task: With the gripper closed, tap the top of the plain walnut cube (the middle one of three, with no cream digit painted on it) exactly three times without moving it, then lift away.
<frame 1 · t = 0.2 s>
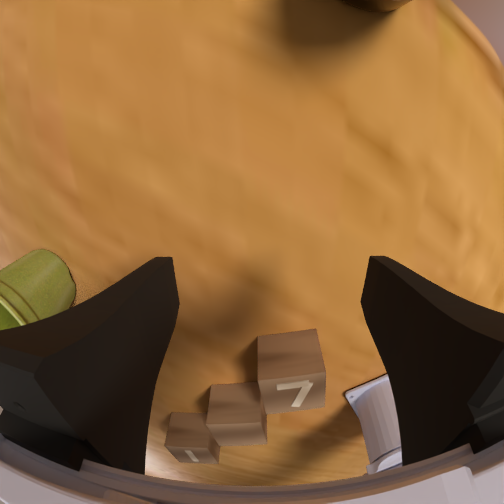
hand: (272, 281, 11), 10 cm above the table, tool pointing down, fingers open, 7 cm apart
plain block: (240, 396, 29), on the table
block seven: (289, 351, 26), on the table
block one: (197, 422, 32), on the table
plant pot: (51, 276, 23), on the table
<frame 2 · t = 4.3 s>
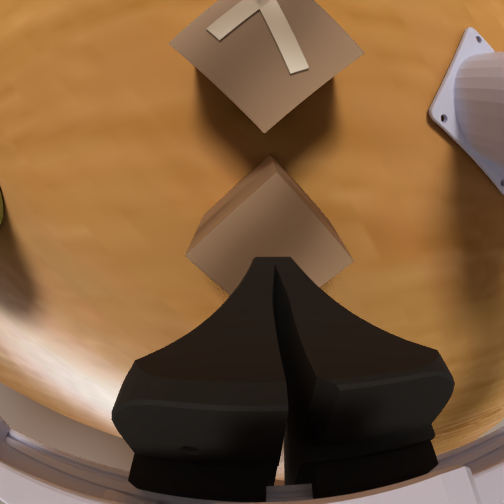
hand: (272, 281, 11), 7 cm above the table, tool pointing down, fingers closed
plain block: (267, 216, 17), on the table
block seven: (264, 62, 13), on the table
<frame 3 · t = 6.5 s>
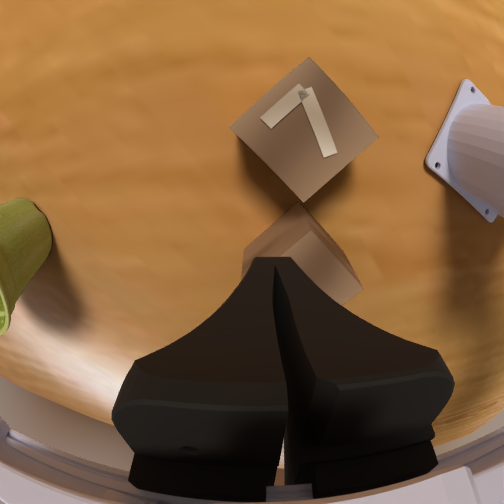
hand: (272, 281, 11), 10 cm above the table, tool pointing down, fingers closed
plain block: (294, 249, 21), on the table
block seven: (293, 125, 17), on the table
plant pot: (30, 230, 20), on the table
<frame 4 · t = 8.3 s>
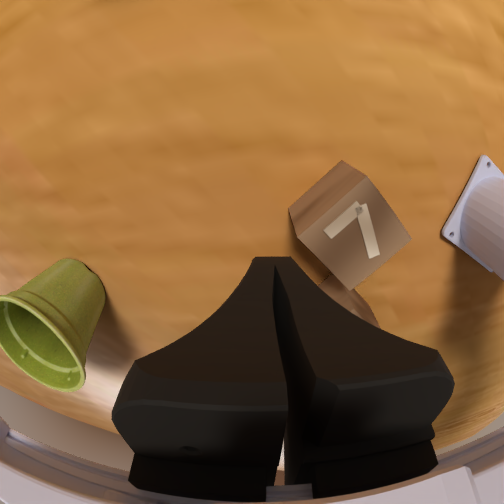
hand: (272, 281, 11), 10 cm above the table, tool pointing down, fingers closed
plain block: (330, 306, 24), on the table
block seven: (337, 209, 20), on the table
plant pot: (79, 286, 24), on the table
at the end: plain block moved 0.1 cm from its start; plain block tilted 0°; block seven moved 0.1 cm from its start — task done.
